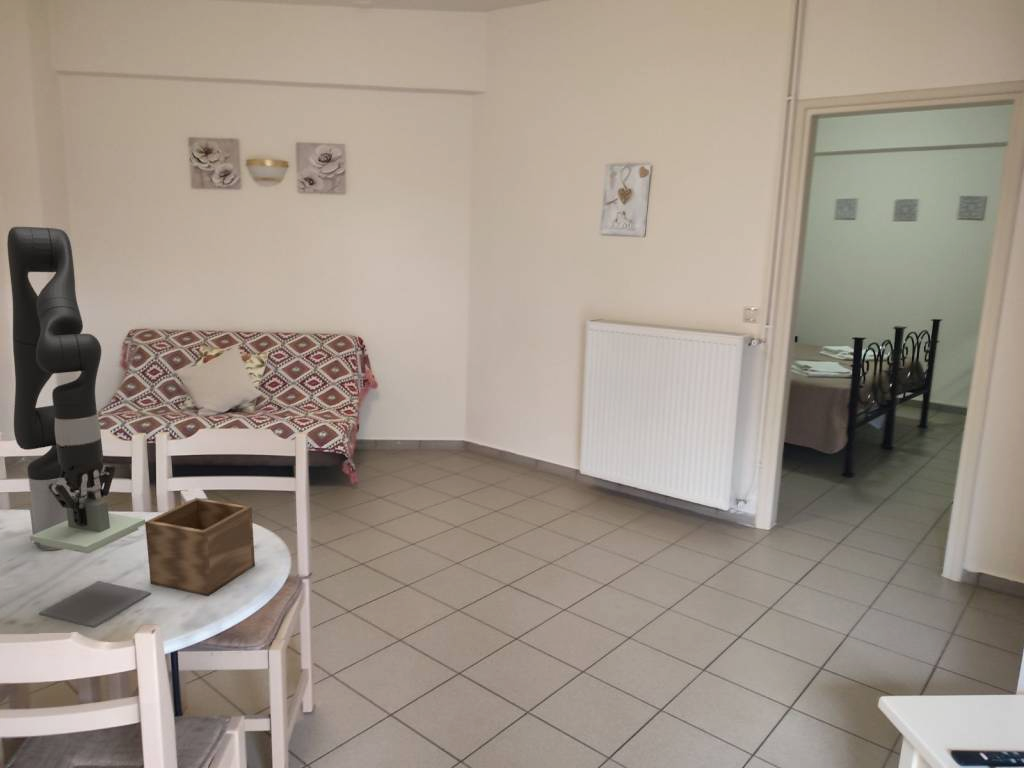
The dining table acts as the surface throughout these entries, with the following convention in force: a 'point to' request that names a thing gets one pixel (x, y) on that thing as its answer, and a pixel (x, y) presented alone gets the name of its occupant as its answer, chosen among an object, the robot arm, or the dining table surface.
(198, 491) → the ink box
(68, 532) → the lid
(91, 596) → the mat
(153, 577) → the box
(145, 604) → the dining table surface
